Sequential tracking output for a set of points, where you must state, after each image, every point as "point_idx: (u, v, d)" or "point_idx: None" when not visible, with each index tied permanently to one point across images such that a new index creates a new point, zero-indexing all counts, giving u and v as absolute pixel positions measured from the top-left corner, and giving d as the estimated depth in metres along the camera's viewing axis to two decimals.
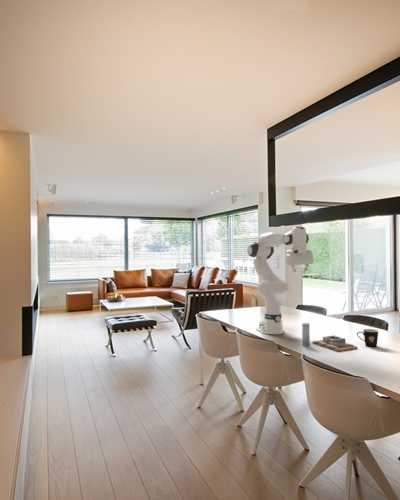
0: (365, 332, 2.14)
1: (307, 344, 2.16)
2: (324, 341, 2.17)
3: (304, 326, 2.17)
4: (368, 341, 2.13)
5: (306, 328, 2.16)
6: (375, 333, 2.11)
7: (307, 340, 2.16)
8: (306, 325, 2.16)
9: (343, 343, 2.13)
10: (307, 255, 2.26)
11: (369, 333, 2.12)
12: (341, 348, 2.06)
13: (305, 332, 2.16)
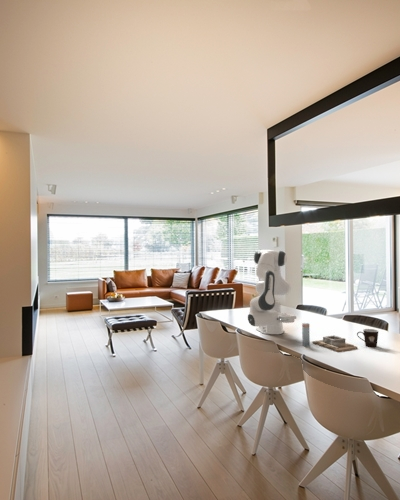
0: (365, 332, 2.14)
1: (307, 344, 2.16)
2: (324, 341, 2.17)
3: (304, 326, 2.17)
4: (368, 341, 2.13)
5: (306, 328, 2.16)
6: (375, 333, 2.11)
7: (307, 340, 2.16)
8: (306, 325, 2.16)
9: (343, 343, 2.13)
10: None
11: (369, 333, 2.12)
12: (341, 348, 2.06)
13: (305, 332, 2.16)
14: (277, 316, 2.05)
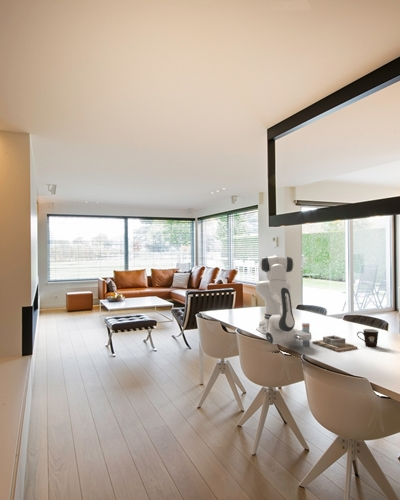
0: (365, 332, 2.14)
1: (307, 344, 2.16)
2: (324, 341, 2.17)
3: (304, 326, 2.17)
4: (368, 341, 2.13)
5: (306, 328, 2.16)
6: (375, 333, 2.11)
7: (307, 340, 2.16)
8: (306, 325, 2.16)
9: (343, 343, 2.13)
10: None
11: (369, 333, 2.12)
12: (341, 348, 2.06)
13: None
14: (294, 334, 2.10)
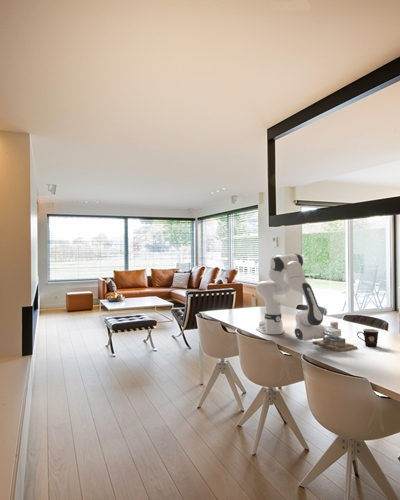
0: (365, 332, 2.14)
1: None
2: (324, 341, 2.17)
3: (333, 325, 2.14)
4: (368, 341, 2.13)
5: (335, 327, 2.14)
6: (375, 333, 2.11)
7: None
8: (335, 324, 2.14)
9: (343, 343, 2.13)
10: None
11: (369, 333, 2.12)
12: (341, 348, 2.06)
13: None
14: (323, 330, 2.08)
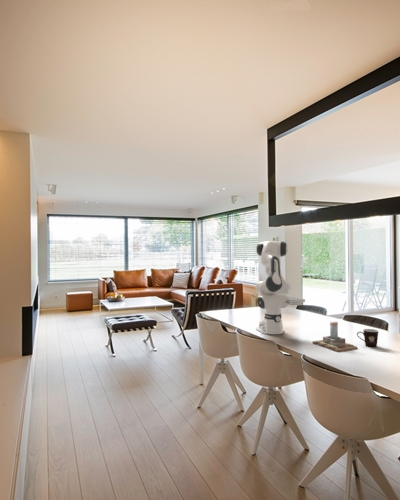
0: (365, 332, 2.14)
1: None
2: (324, 341, 2.17)
3: (332, 325, 2.15)
4: (368, 341, 2.13)
5: (334, 327, 2.14)
6: (375, 333, 2.11)
7: None
8: (334, 324, 2.14)
9: (343, 343, 2.13)
10: None
11: (369, 333, 2.12)
12: (341, 348, 2.06)
13: (333, 330, 2.14)
14: (286, 299, 2.08)
